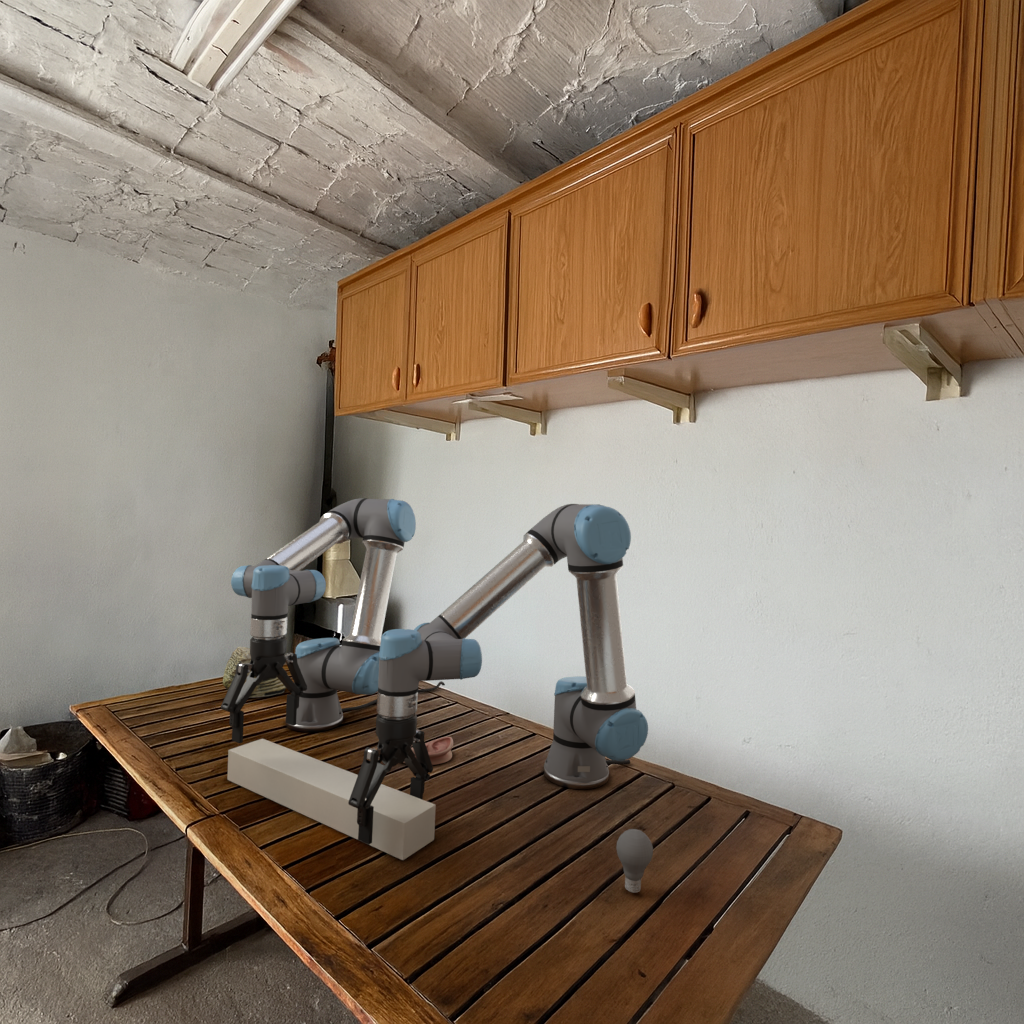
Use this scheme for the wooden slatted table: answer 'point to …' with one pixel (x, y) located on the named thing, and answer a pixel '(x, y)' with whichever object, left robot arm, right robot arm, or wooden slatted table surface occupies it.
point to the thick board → (331, 796)
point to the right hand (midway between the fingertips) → (391, 826)
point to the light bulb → (634, 857)
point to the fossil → (243, 656)
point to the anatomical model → (439, 750)
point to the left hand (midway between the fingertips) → (265, 732)
